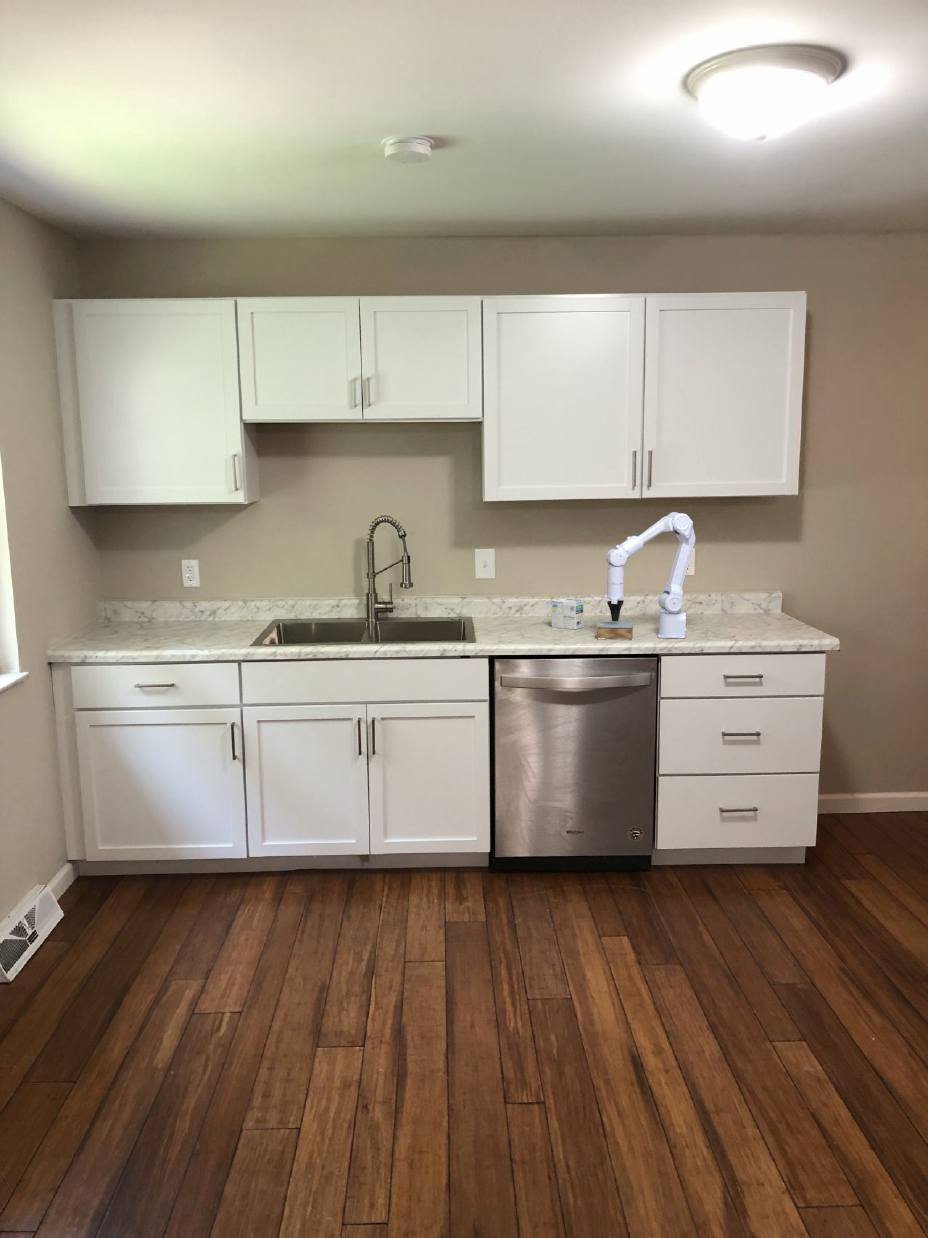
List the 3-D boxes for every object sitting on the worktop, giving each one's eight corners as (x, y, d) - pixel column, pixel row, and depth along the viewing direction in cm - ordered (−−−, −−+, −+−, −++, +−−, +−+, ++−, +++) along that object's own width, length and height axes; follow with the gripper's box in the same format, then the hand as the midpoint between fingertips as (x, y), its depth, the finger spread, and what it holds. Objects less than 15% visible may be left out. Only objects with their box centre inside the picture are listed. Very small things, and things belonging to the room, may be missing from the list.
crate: (632, 636, 337) (632, 625, 336) (631, 640, 329) (631, 629, 328) (599, 635, 339) (599, 624, 339) (597, 639, 332) (597, 628, 331)
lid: (632, 624, 336) (632, 621, 336) (631, 628, 328) (631, 624, 328) (599, 624, 339) (599, 620, 339) (597, 627, 331) (597, 624, 330)
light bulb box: (584, 627, 356) (584, 599, 354) (575, 630, 351) (576, 601, 349) (559, 625, 362) (559, 597, 360) (550, 627, 357) (550, 599, 355)
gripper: (605, 580, 338) (605, 617, 340) (602, 585, 324) (602, 624, 326) (625, 580, 336) (624, 617, 339) (623, 585, 322) (623, 624, 325)
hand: (615, 621), depth 332 cm, fingers closed
